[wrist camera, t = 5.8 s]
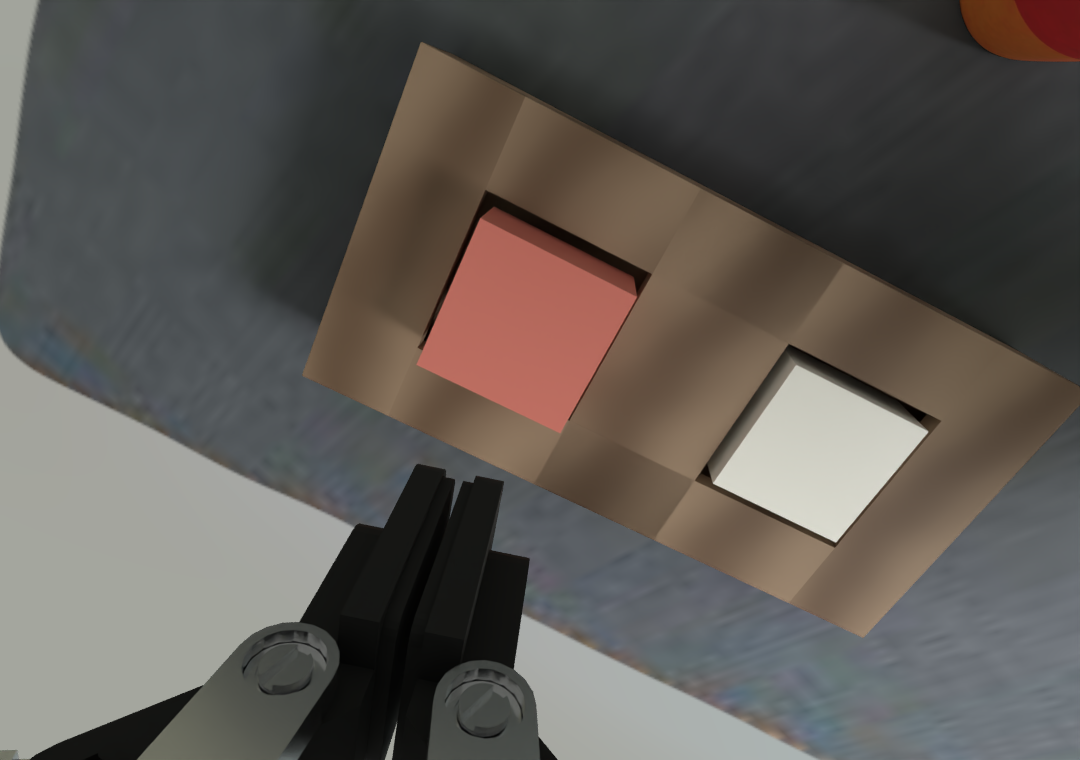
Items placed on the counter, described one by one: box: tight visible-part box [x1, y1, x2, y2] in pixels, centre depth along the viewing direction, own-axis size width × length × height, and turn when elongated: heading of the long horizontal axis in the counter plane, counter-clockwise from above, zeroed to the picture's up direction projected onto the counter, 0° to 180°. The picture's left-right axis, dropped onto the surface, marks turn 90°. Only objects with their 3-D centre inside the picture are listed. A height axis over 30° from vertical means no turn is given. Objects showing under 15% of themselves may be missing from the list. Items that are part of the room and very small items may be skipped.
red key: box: [417, 207, 637, 433], centre depth 25 cm, size 6×6×3 cm
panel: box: [302, 42, 1080, 638], centre depth 29 cm, size 28×14×5 cm, turn 64°
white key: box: [707, 345, 929, 542], centre depth 28 cm, size 6×6×3 cm
